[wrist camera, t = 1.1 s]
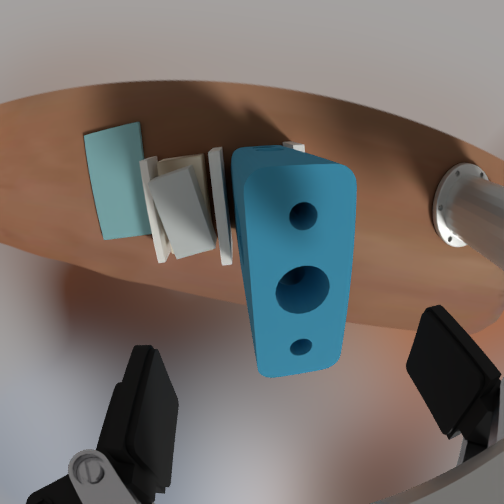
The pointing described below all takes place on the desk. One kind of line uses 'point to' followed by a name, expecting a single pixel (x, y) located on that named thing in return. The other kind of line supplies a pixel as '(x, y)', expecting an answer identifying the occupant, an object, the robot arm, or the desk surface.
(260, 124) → the desk surface
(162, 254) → the rack
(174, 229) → the upper offcut
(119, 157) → the mat
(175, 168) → the block
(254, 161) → the block
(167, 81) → the desk surface
